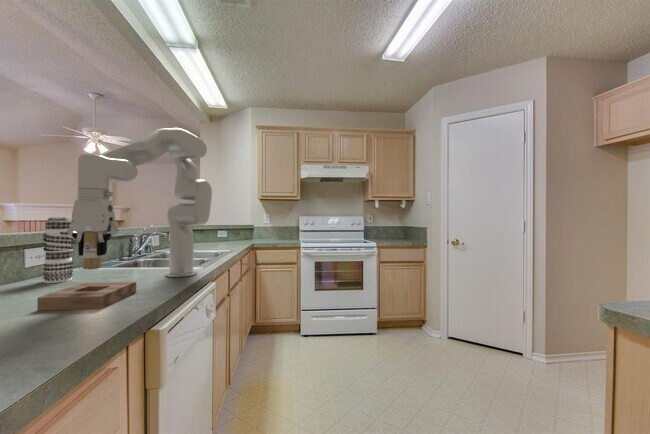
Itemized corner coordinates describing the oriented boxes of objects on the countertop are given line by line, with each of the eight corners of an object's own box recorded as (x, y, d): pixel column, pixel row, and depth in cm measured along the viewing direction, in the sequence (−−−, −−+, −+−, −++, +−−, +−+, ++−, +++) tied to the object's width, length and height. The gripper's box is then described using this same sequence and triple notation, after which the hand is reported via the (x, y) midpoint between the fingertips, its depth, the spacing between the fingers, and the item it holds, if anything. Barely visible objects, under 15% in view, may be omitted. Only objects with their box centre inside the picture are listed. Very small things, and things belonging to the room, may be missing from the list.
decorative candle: (74, 277, 119) (75, 217, 119) (73, 281, 112) (74, 217, 112) (43, 280, 113) (44, 217, 113) (40, 284, 106) (41, 217, 106)
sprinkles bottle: (79, 270, 84) (80, 224, 84) (87, 267, 89) (88, 224, 89) (97, 269, 86) (98, 224, 86) (104, 267, 90) (105, 224, 90)
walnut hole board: (85, 292, 95) (85, 282, 95) (136, 291, 97) (136, 281, 97) (37, 310, 77) (37, 297, 77) (101, 308, 79) (101, 296, 79)
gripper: (130, 197, 92) (129, 253, 92) (73, 195, 90) (72, 253, 90) (115, 195, 84) (114, 256, 84) (53, 193, 82) (52, 256, 82)
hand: (92, 254), depth 87 cm, fingers closed on sprinkles bottle, 4 cm apart
